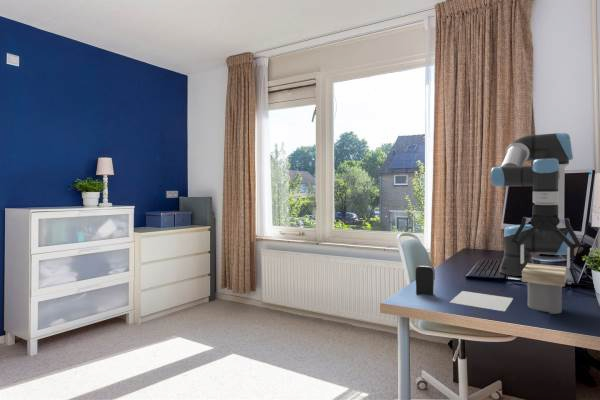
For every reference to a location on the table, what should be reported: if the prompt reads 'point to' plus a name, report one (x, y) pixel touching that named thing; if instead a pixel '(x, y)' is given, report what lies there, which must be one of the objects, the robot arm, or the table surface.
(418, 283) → the battery
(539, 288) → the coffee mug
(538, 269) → the board
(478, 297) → the grey mat
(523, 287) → the table surface
